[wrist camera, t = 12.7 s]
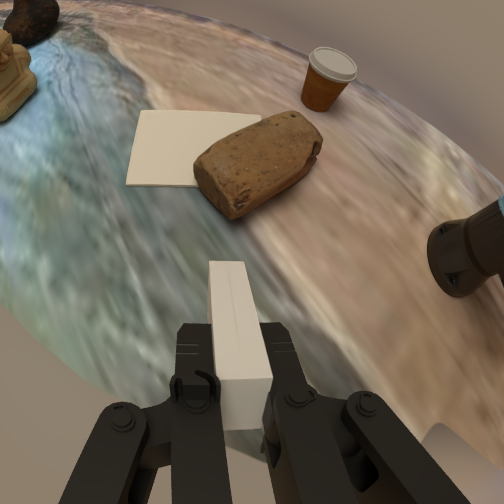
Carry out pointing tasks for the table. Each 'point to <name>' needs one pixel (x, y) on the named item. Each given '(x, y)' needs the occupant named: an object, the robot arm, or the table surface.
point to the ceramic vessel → (14, 76)
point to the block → (257, 162)
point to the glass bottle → (31, 20)
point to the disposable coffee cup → (326, 78)
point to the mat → (177, 144)
